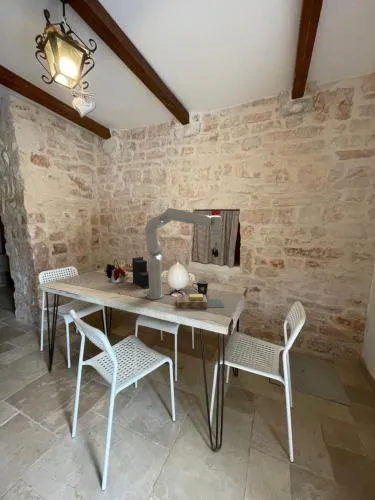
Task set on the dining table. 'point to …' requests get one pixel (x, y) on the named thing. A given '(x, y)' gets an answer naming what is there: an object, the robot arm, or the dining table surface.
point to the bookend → (140, 272)
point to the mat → (215, 303)
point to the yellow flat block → (196, 296)
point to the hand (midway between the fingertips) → (215, 255)
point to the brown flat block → (190, 302)
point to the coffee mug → (202, 287)
